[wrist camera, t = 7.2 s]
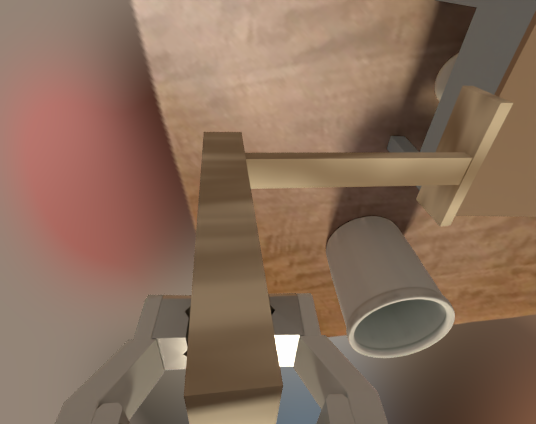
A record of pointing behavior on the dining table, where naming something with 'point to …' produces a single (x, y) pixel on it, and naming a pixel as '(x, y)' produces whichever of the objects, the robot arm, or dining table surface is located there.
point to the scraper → (250, 258)
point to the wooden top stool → (502, 85)
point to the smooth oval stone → (444, 77)
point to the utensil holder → (385, 290)
